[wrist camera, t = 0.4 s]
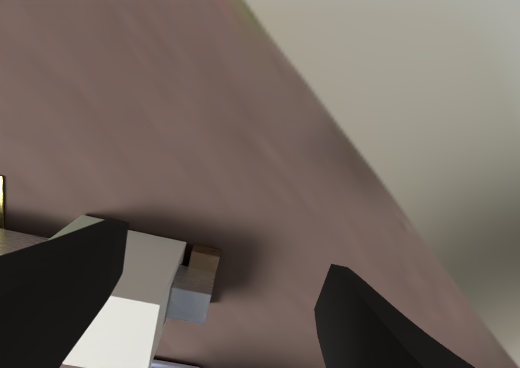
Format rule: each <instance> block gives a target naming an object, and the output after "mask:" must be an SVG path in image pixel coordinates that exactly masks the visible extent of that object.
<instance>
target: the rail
mask: <svg viewBox="0 0 520 368" xmlns="http://www.w3.org/2000/svg"><path fill="white" fill-rule="evenodd" d="M47 240H49V238H44V237H39V236H34V235H30V234H25V233H20V232H15V231H10V230H5V229H4V195H3V176H0V255H3V254H7V253H10V252H14V251H17V250H20V249H23V248H26V247H29V246H32V245H35V244H38V243H41V242H44V241H47ZM220 253H221V250H220V249H215V248H211V247H206V246H201V245H197V244H194V246H193V249H192V252H191V257H190V262H189V266H188V267H187V266H182V265H179V267H178V269H177V272H176V274H175V276H174V279H173V281H172V284H171V287H170V292H169V298H168V303H167V308H166V313H165V317H168V318H173V319H179V320H184V321H189V322H195V323H200V324H204V323H205V319H206V315H207V311H208V307H209V303H210V299H211V295H212V290H213V285H214V280H215V275H216V270H217V266H218V262H219V258H220Z"/></svg>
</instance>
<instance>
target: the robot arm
mask: <svg viewBox="0 0 520 368" xmlns="http://www.w3.org/2000/svg"><path fill="white" fill-rule="evenodd" d="M128 226H129V222H126V221H121V220H116V219H111V218H110V219H107V220H103V221H100V222H97V223H95V224H92V225H89V226H86V227H84V228H81V229H78V230H76V231H73V232H70V233H67V234H65V235H62V236H59V237H56V238H53V239H51V240H48V241H44V242H41V243H38V244H35V245H32V246H29V247H26V248H23V249H20V250H17V251H14V252H10V253H7V254H3V255H0V368H59V367H60V366H61V364H62V363H63V361H64V360H65V359H66V357H67V356H68V355H69V353H70V352H71V350H72V349H73V348H74V346H75V345H76V344H77V342H78V341H79V339H80V338H81V337H82V335H83V334H84V333H85V331H86V330H87V328H88V327H89V326H90V324H91V323H92V322H93V320H94V319H95V317H96V316H97V315H98V313H99V312H100V311H101V309H102V308H103V306H104V305H105V303H106V302H107V301H108V299H109V297H110V296H111V294H112V292H113V290H114V289H115V287H116V285H117V283H118V281H119V279H120V277H121V275H122V274H123V267H124V259H125V250H126V242H127V234H128ZM314 311H315V320H316V327H317V334H318V339H319V343H320V347H321V351H322V354H323V358H324V362H325V365H326V368H475V367H473V366H472V365H470V364H469V363H467V362H466V361H464V360H463V359H461V358H460V357H458V356H457V355H456V354H454V353H453V352H451V351H450V350H449V349H447V348H446V347H444V346H443V345H442V344H440V343H439V342H437V341H436V340H435V339H433V338H432V337H431V336H429V335H428V334H427V333H425V332H424V331H423V330H422V329H420V328H419V327H418V326H417V325H415V324H414V323H413V322H412V321H410V320H409V319H408V318H407V317H405V316H404V315H403V314H402V313H401V312H399V311H398V310H397V309H396V308H395V307H394V306H392V305H391V304H390V303H389V302H388V301H387V300H386V299H384V298H383V297H382V296H381V295H380V294H379V293H378V292H376V291H375V290H374V289H373V288H372V287H371V286H370V285H369V284H367V283H366V282H365V281H364V280H363V279H362V278H360V277H359V276H358V275H357V274H356V273H354V272H353V271H352V270H350V269H349V268H348V267H344V266H339V265H334V264H331V266H330V269H329V271H328V274H327V277H326V279H325V282H324V285H323V287H322V290H321V293H320V295H319V298H318V301H317V303H316V306H315V309H314ZM150 368H200V367H195V366H190V365H184V364H178V363H172V362H166V361H160V360H154V359H153V361H152V364H151V366H150Z"/></svg>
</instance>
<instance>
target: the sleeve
mask: <svg viewBox="0 0 520 368" xmlns="http://www.w3.org/2000/svg"><path fill="white" fill-rule="evenodd" d="M186 243H187V242H183V241H178V240H173V239H169V238H164V237H159V236H155V235H150V234H145V233H141V232H136V231H131V230H128V234H127V242H126V250H125V259H124V267H123V274H122V275H121V277H120V279H119V281H118V283H117V285H116V287H115V289H114V290H113V292H112V294H111V296H110V297H109V299H108V301H107V302H106V303H105V305H104V306H103V308H102V309H101V311H100V312H99V313H98V315H97V316H96V317H95V319H94V320H93V322H92V323H91V324H90V326H89V327H88V328H87V330H86V331H85V333H84V334H83V335H82V337H81V338H80V339H79V341H78V342H77V344H76V345H75V346H74V348H73V349H72V350H71V352H70V353H69V355H68V356H67V357H66V359H65V360H64V361H63V363H62V364H66V365H73V366H79V367H85V368H150V366H151V364H152V361H153V358H154V355H155V353H156V350H157V347H158V344H159V342H160V339H161V336H162V334H163V331H164V328H165V325H166V323H167V320H168V317H165V313H166V308H167V303H168V298H169V292H170V287H171V284H172V281H173V279H174V276H175V274H176V272H177V269H178V267H179V265H182V263H183V258H184V253H185V248H186Z"/></svg>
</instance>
